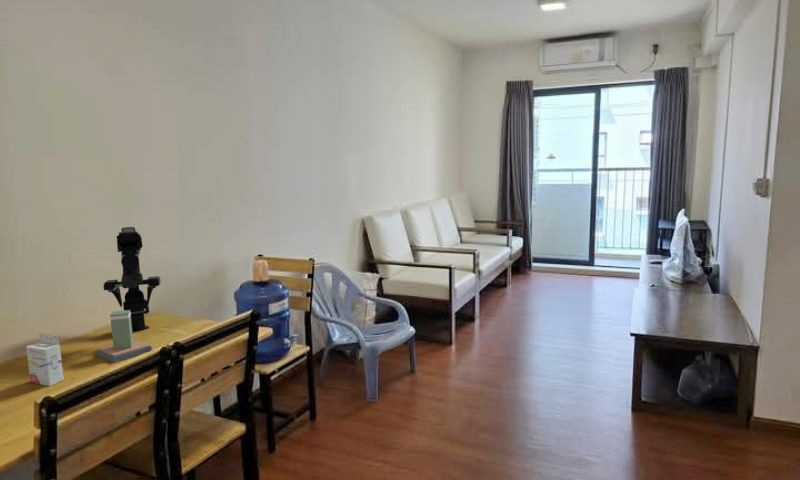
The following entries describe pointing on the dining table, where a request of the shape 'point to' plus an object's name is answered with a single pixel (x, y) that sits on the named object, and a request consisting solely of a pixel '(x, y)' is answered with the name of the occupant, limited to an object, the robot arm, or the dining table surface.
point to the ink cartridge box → (45, 361)
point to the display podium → (123, 351)
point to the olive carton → (121, 329)
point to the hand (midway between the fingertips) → (134, 305)
